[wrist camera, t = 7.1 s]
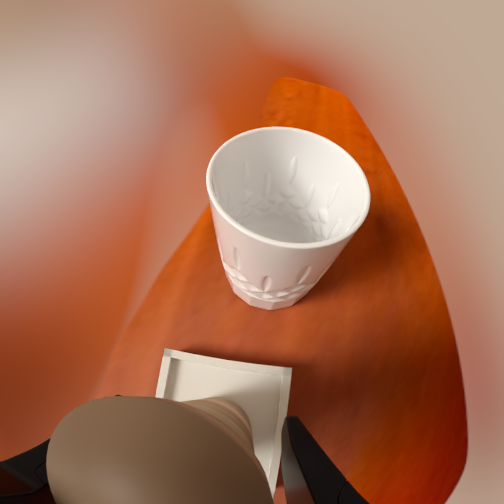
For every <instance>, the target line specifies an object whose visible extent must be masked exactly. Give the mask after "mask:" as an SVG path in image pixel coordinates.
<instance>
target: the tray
mask: <svg viewBox="0 0 504 504" xmlns="http://www.w3.org/2000/svg"><path fill="white" fill-rule="evenodd" d="M291 375H292V368H287V367H277V366H268V365H260V364H252V363H245V362H238V361H231V360H224V359H218V358H212V357H207V356H201V355H196V354H191V353H186V352H181V351H176V350H171V349H167V348H165V350H164V354H163V359H162V364H161V369H160V375H159V380H158V385H157V391H156V397H157V398H165V399H169V400H174V401H178V402H182V401H189V400H197V399H203V398H210V397H220V398H225V399H229V400H231V401H233V402H235V403H236V404H238V405H239V406H240V407H241V408H242V409H243V410H244V411H245V412H246V414H247V415H248V417H249V420H250V423H251V430H252V438H253V445H254V452H255V455H256V457H257V458H258V460H259V461H260V463H261V465H262V467H263V469H264V471H265V474H266V477H267V480H268V483H269V486H270V490H271V494H272V498H274V493H275V487H276V481H277V476H278V470H279V464H280V457H281V431H282V426H283V423H284V419H285V417H286V416H287V408H288V400H289V392H290V384H291Z"/></svg>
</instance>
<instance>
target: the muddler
mask: <svg viewBox="0 0 504 504" xmlns="http://www.w3.org/2000/svg"><path fill="white" fill-rule="evenodd" d="M46 468H47V476H48V481H49V485H50V489H51V492H52V495H53V497H54V500H55V502H56V504H274V503H273V498H272V494H271V490H270V486H269V483H268V480H267V477H266V474H265V471H264V469H263V467H262V465H261V463H260V461H259V460H258V458H257V457H256V455H255V452H254V445H253V438H252V430H251V423H250V420H249V417H248V415H247V414H246V412H245V411H244V410H243V409H242V408H241V407H240V406H239V405H238V404H236V403H235V402H233V401H231V400H229V399H225V398H220V397H210V398H203V399H197V400H189V401H182V402H178V401H174V400H169V399H165V398H157V397H133V396H114V397H104V398H100V399H96V400H92V401H89V402H87V403H84V404H82V405H80V406H78V407H77V408H75V409H73V410H72V411H71V412H69V413H68V414H67V415H66V416H65V417H64V418H63V419H62V420H61V421H60V423H59V424H58V425H57V427H56V428H55V430H54V432H53V434H52V436H51V439H50V442H49V445H48V451H47V460H46Z"/></svg>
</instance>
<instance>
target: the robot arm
mask: <svg viewBox="0 0 504 504" xmlns="http://www.w3.org/2000/svg"><path fill="white" fill-rule="evenodd" d="M116 396H121V395H116ZM50 439H51V438H50ZM50 439H48V440H46V441H45V442H43V443H42V444H40V445H38V446H36V447H34V448H32V449H30V450H28V451H26V452H24V453H21V454H19V455H17V456H14V457H12V458H10V459H7V460H4V461H0V504H56V502H55V500H54V497H53V495H52V492H51V489H50V485H49V481H48V476H47V468H46V460H47V451H48V445H49V442H50ZM281 464H282V475H283V482H284V489H285V495H286V502H287V504H369V503H368V502H367V501H366V500H365V499H364V498H363V497H362V496H361V495H360V494H359V493H358V492H357V491H356V490H355V489H354V488H353V486H352V485H351V484H350V483H349V482H348V481H346V478H345V477H344V476H343V474H342V473H341V472H340V471H339V470H338V468H337V467H336V466H335V465H334V463H333V462H332V461H331V460H330V458H329V457H328V456H327V455H326V453H325V452H324V451H323V450H322V448H321V447H320V446H319V445H318V443H317V442H316V441H315V439H314V438H313V437H312V435H311V434H310V433H309V431H308V430H307V429H306V428H305V426H304V425H303V424H302V422H301V421H300V420H299V418H298V417H297V416H286V417H285V419H284V423H283V426H282V431H281Z"/></svg>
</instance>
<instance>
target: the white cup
mask: <svg viewBox="0 0 504 504" xmlns="http://www.w3.org/2000/svg"><path fill="white" fill-rule="evenodd" d="M206 184H207V189H208V195H209V201H210V206H211V211H212V217H213V222H214V227H215V233H216V238H217V243H218V247H219V251H220V255H221V259H222V262H223V266H224V268H225V274H226V276H227V279H228V281H229V283H230V285H231V287H232V289H233V292H234V293H235V294H236V295H238V296H239V297H240V298H241V299H243V300H244V301H245V302H246V303H248V304H249V305H251V306H255V307H259V308H263V309H267V310H275V309H280V308H285V307H290V306H292V305H293V304H295V303H296V302H297V301H299V300H300V299H301V298H302V297H304V296H305V295H306V294H307V293H308V292H309V290H310V289H311V288H312V287H313V286H314V285H315V284H316V283H317V282H318V281H319V280H320V278H321V277H322V276H323V275H324V274H325V273H326V271H327V270H328V269H329V268H330V266H331V265H332V264H333V263H334V261H335V260H336V259H337V257H338V256H339V254H340V253H341V252H342V250H343V249H344V248H345V246H346V245H347V244H348V242H349V241H350V240H351V238H352V237H353V235H354V234H355V233H356V231H357V230H358V229H359V227H360V226H361V225H362V223H363V222H364V220H365V218H366V216H367V214H368V211H369V207H370V189H369V185H368V181H367V179H366V177H365V174H364V173H363V171H362V169H361V168H360V166H359V165H358V163H357V162H356V161H355V160H354V159H353V158H352V157H351V156H350V155H349V154H348V153H347V152H346V151H345V150H344V149H342V148H341V147H340V146H338V145H337V144H335V143H334V142H332V141H330V140H328V139H326V138H324V137H322V136H320V135H317V134H315V133H312V132H309V131H305V130H301V129H296V128H290V127H264V128H258V129H254V130H250V131H247V132H244V133H241V134H239V135H237V136H235V137H233V138H231V139H230V140H228V141H227V142H225V143H224V144H223V145H222V146H221V147H220V148H219V149H218V150H217V151H216V153H215V154H214V155H213V157H212V159H211V161H210V163H209V166H208V169H207V175H206Z"/></svg>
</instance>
